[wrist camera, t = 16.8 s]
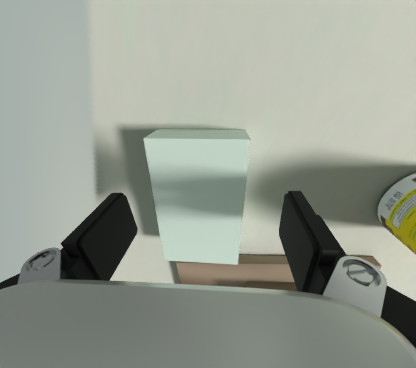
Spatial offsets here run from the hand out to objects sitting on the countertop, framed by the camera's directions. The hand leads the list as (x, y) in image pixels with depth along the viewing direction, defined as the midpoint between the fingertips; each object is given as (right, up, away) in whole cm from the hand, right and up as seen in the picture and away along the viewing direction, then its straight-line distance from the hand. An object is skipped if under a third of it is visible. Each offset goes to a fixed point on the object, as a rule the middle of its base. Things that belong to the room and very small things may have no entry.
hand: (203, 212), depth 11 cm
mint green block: (0, +1, +4) cm, 4 cm away
